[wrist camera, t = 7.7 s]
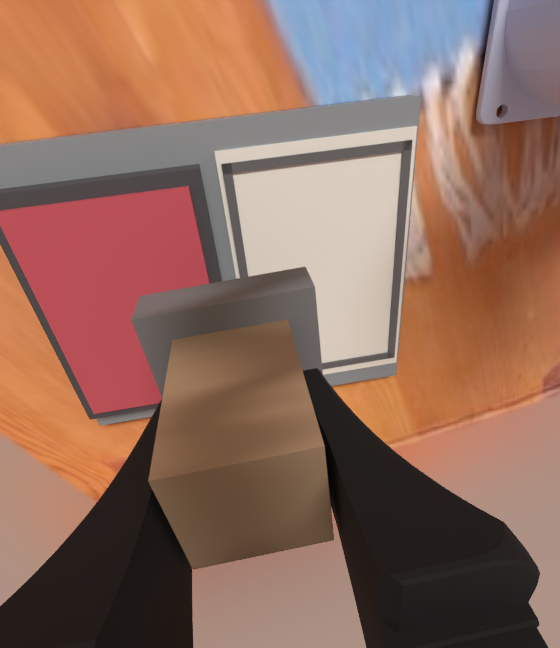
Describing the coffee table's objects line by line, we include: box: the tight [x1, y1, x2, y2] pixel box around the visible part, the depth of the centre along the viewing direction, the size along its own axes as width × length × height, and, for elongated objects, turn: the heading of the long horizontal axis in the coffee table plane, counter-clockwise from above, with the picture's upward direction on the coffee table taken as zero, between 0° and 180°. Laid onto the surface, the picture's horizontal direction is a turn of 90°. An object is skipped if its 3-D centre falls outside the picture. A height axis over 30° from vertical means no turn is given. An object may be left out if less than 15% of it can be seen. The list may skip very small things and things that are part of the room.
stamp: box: [131, 267, 334, 569], centre depth 12 cm, size 6×6×6 cm
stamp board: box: [0, 95, 421, 425], centre depth 19 cm, size 18×15×2 cm
